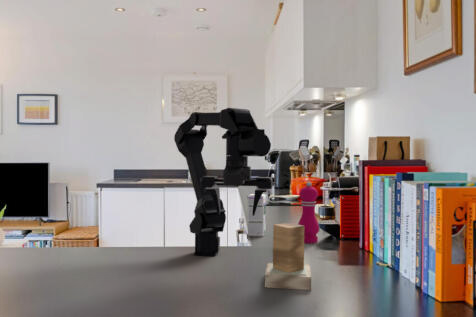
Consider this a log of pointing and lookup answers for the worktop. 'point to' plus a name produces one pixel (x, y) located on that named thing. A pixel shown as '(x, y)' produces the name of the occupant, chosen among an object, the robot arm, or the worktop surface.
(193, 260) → the worktop surface
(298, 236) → the oak block
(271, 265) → the plinth
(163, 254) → the worktop surface
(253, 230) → the syrup box
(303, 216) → the pepper mill
